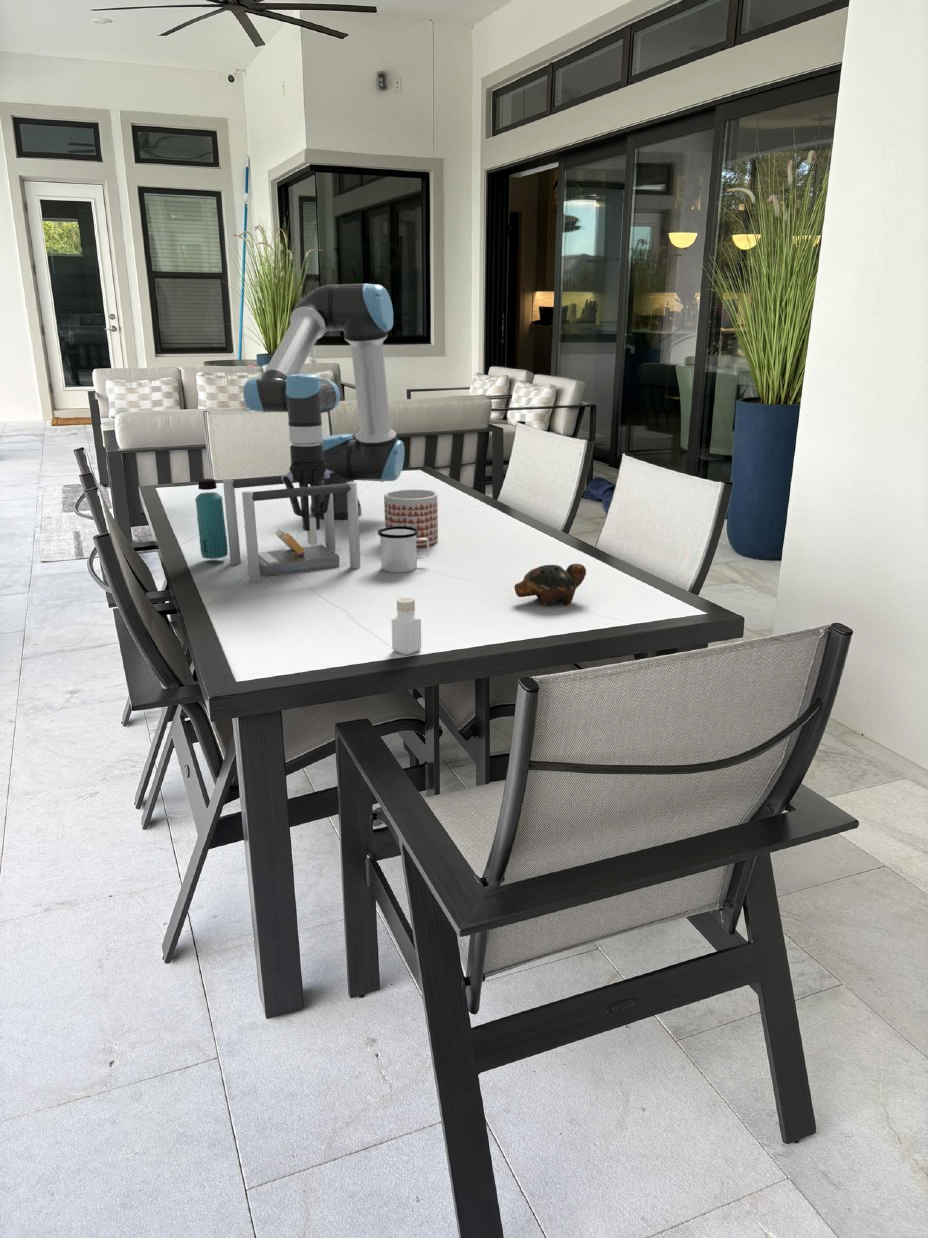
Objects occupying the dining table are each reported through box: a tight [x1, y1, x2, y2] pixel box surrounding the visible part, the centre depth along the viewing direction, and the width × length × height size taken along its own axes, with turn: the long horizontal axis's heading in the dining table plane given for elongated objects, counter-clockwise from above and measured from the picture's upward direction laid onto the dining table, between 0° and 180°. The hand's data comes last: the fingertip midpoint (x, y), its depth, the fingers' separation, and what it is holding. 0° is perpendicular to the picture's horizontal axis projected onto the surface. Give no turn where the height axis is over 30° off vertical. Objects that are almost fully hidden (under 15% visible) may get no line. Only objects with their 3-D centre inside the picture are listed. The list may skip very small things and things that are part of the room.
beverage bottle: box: [194, 478, 229, 560], centre depth 213 cm, size 6×7×20 cm
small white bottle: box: [391, 596, 422, 656], centre depth 157 cm, size 4×4×10 cm
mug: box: [377, 526, 430, 574], centre depth 209 cm, size 12×10×9 cm
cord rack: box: [222, 474, 361, 583], centre depth 209 cm, size 26×19×20 cm
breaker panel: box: [258, 544, 340, 577], centre depth 212 cm, size 18×12×3 cm, turn 118°
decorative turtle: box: [513, 563, 587, 607], centre depth 184 cm, size 10×15×8 cm, turn 107°
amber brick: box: [282, 532, 304, 555], centre depth 211 cm, size 2×3×6 cm
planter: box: [383, 488, 439, 549], centre depth 232 cm, size 14×14×13 cm
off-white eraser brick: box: [274, 528, 293, 550], centre depth 216 cm, size 2×3×6 cm
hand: (312, 543), depth 213 cm, fingers closed
